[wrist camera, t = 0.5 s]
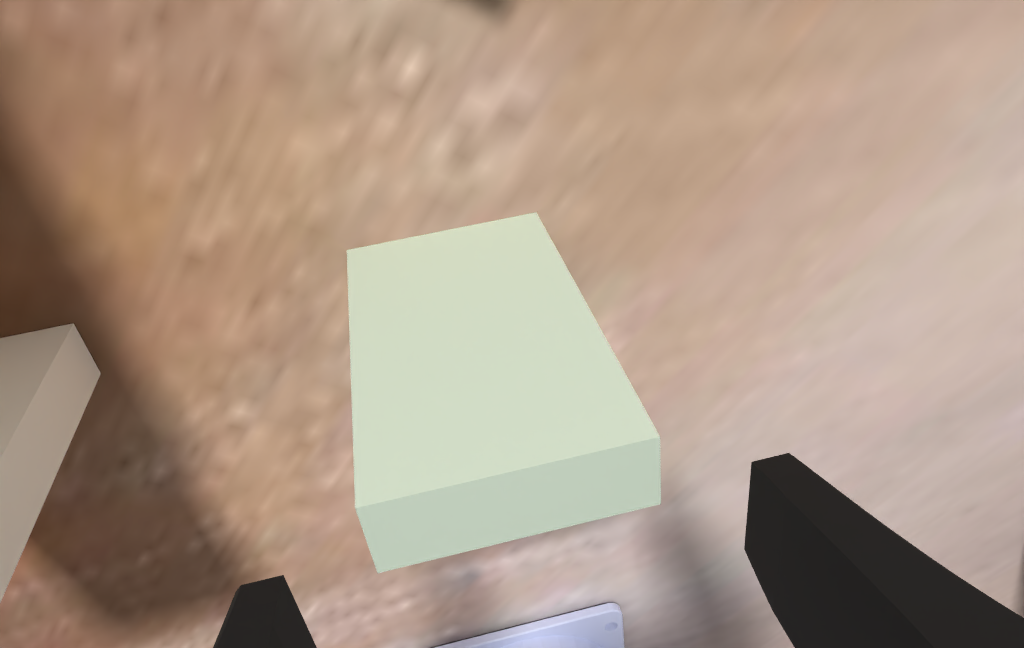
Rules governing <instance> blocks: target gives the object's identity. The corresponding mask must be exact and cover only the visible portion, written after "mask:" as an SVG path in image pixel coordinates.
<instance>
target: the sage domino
mask: <svg viewBox="0 0 1024 648" xmlns="http://www.w3.org/2000/svg"><path fill="white" fill-rule="evenodd" d="M347 271H348V302H349V332H350V363H351V394H352V424H353V455H354V486H355V509H356V512H357V515H358V518H359V520H360V523H361V526H362V529H363V532H364V535H365V538H366V541H367V544H368V546H369V549H370V552H371V555H372V558H373V561H374V564H375V567H376V570H377V572H378V573H381V572H385V571H389V570H393V569H397V568H401V567H405V566H409V565H413V564H417V563H422V562H426V561H430V560H434V559H438V558H442V557H446V556H450V555H454V554H458V553H463V552H467V551H471V550H475V549H479V548H483V547H487V546H491V545H495V544H499V543H504V542H508V541H512V540H516V539H520V538H524V537H528V536H532V535H536V534H540V533H545V532H549V531H553V530H557V529H561V528H565V527H569V526H573V525H577V524H581V523H586V522H590V521H594V520H598V519H602V518H606V517H610V516H614V515H618V514H622V513H627V512H631V511H635V510H639V509H643V508H647V507H651V506H655V505H659V504H661V477H660V436H659V434H658V432H657V430H656V429H655V427H654V425H653V423H652V421H651V419H650V418H649V416H648V414H647V412H646V410H645V409H644V407H643V405H642V403H641V401H640V400H639V398H638V396H637V394H636V392H635V390H634V389H633V387H632V385H631V383H630V381H629V380H628V378H627V376H626V374H625V372H624V370H623V369H622V367H621V365H620V363H619V361H618V360H617V358H616V356H615V354H614V352H613V351H612V349H611V347H610V345H609V343H608V341H607V340H606V338H605V336H604V334H603V332H602V331H601V329H600V327H599V325H598V323H597V322H596V320H595V318H594V316H593V314H592V312H591V311H590V309H589V307H588V305H587V303H586V302H585V300H584V298H583V296H582V294H581V293H580V291H579V289H578V287H577V285H576V283H575V282H574V280H573V278H572V276H571V274H570V273H569V271H568V269H567V267H566V265H565V263H564V262H563V260H562V258H561V256H560V254H559V253H558V251H557V249H556V247H555V245H554V244H553V242H552V240H551V238H550V236H549V234H548V233H547V231H546V229H545V227H544V225H543V224H542V222H541V220H540V218H539V216H538V215H537V213H536V212H535V213H530V214H525V215H520V216H515V217H510V218H505V219H500V220H495V221H490V222H485V223H480V224H475V225H470V226H465V227H460V228H455V229H450V230H445V231H440V232H435V233H430V234H425V235H420V236H415V237H410V238H405V239H400V240H395V241H390V242H385V243H380V244H375V245H370V246H365V247H360V248H355V249H350V250H347Z"/></svg>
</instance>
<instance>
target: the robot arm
mask: <svg viewBox="0 0 1024 648" xmlns="http://www.w3.org/2000/svg"><path fill="white" fill-rule="evenodd" d="M744 549H745V551H746V554H747V556H748V558H749V560H750V563H751V565H752V567H753V569H754V572H755V574H756V576H757V578H758V581H759V583H760V585H761V587H762V589H763V591H764V593H765V595H766V597H767V600H768V602H769V604H770V606H771V608H772V610H773V612H774V614H775V615H776V617H777V619H778V620H779V622H780V624H781V625H782V627H783V629H784V630H785V632H786V634H787V635H788V637H789V639H790V640H791V642H792V644H793V645H794V647H795V648H1024V618H1023V617H1021V616H1020V615H1018V614H1016V613H1015V612H1013V611H1011V610H1010V609H1008V608H1007V607H1005V606H1003V605H1002V604H1000V603H998V602H997V601H995V600H994V599H992V598H991V597H989V596H987V595H986V594H984V593H983V592H981V591H980V590H978V589H977V588H975V587H974V586H972V585H971V584H969V583H967V582H966V581H964V580H963V579H961V578H960V577H958V576H957V575H955V574H954V573H952V572H951V571H949V570H948V569H946V568H945V567H943V566H942V565H940V564H939V563H937V562H936V561H935V560H933V559H932V558H930V557H929V556H927V555H926V554H925V553H923V552H922V551H920V550H919V549H918V548H916V547H915V546H913V545H912V544H910V543H909V542H908V541H906V540H905V539H903V538H902V537H901V536H899V535H898V534H896V533H895V532H894V531H892V530H891V529H889V528H888V527H887V526H885V525H884V524H882V523H881V522H880V521H878V520H877V519H876V518H874V517H873V516H872V515H870V514H869V513H868V512H866V511H865V510H864V509H862V508H861V507H860V506H858V505H857V504H856V503H854V502H853V501H852V500H850V499H849V498H848V497H846V496H845V495H844V494H842V493H841V492H840V491H838V490H837V489H836V488H835V487H833V486H832V485H831V484H829V483H828V482H827V481H825V480H824V479H823V478H821V477H820V476H819V475H818V474H816V473H815V472H814V471H812V470H811V469H810V468H808V467H807V466H806V465H804V464H803V463H802V462H800V461H799V460H798V459H796V458H795V457H794V456H792V455H791V454H789V453H787V454H783V455H779V456H774V457H770V458H766V459H762V460H758V461H754V462H752V464H751V476H750V488H749V500H748V512H747V524H746V536H745V548H744ZM213 648H317V647H316V645H315V643H314V641H313V639H312V637H311V634H310V632H309V630H308V628H307V626H306V624H305V621H304V619H303V617H302V615H301V613H300V610H299V608H298V606H297V604H296V602H295V600H294V597H293V595H292V593H291V591H290V589H289V587H288V584H287V582H286V580H285V578H284V576H283V575H282V576H278V577H273V578H269V579H265V580H261V581H257V582H253V583H249V584H244V585H241V586H240V587H239V589H238V590H237V591H236V593H235V595H234V598H233V600H232V603H231V605H230V608H229V610H228V613H227V615H226V618H225V620H224V623H223V625H222V628H221V630H220V632H219V635H218V637H217V640H216V642H215V644H214V647H213ZM434 648H624V632H623V615H622V612H621V610H620V607H619V605H617V604H616V603H606V604H602V605H598V606H594V607H590V608H586V609H582V610H578V611H575V612H571V613H567V614H563V615H559V616H555V617H551V618H547V619H543V620H539V621H536V622H532V623H528V624H524V625H520V626H516V627H512V628H508V629H504V630H500V631H497V632H493V633H489V634H485V635H481V636H477V637H473V638H469V639H465V640H461V641H457V642H454V643H450V644H446V645H442V646H438V647H434Z"/></svg>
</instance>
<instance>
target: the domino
mask: <svg viewBox="0 0 1024 648" xmlns="http://www.w3.org/2000/svg"><path fill="white" fill-rule="evenodd" d="M100 374H101V373H100V371H99V369H98V367H97V365H96V364H95V362H94V360H93V358H92V356H91V354H90V353H89V351H88V349H87V347H86V345H85V343H84V341H83V340H82V338H81V336H80V334H79V332H78V330H77V329H76V327H75V325H74V323H73V324H68V325H63V326H58V327H53V328H48V329H43V330H38V331H33V332H28V333H23V334H18V335H13V336H8V337H4V338H0V602H1V600H2V598H3V595H4V593H5V591H6V588H7V586H8V584H9V582H10V579H11V577H12V575H13V573H14V570H15V568H16V566H17V563H18V561H19V559H20V557H21V554H22V552H23V550H24V547H25V545H26V543H27V541H28V538H29V536H30V534H31V532H32V529H33V527H34V525H35V522H36V520H37V518H38V516H39V513H40V511H41V509H42V506H43V504H44V502H45V500H46V497H47V495H48V493H49V491H50V488H51V486H52V484H53V481H54V479H55V477H56V475H57V472H58V470H59V468H60V465H61V463H62V461H63V459H64V456H65V454H66V452H67V450H68V447H69V445H70V443H71V440H72V438H73V436H74V434H75V431H76V429H77V427H78V424H79V422H80V420H81V418H82V415H83V413H84V411H85V408H86V406H87V404H88V402H89V399H90V397H91V395H92V393H93V390H94V388H95V386H96V383H97V381H98V379H99V377H100Z"/></svg>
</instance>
